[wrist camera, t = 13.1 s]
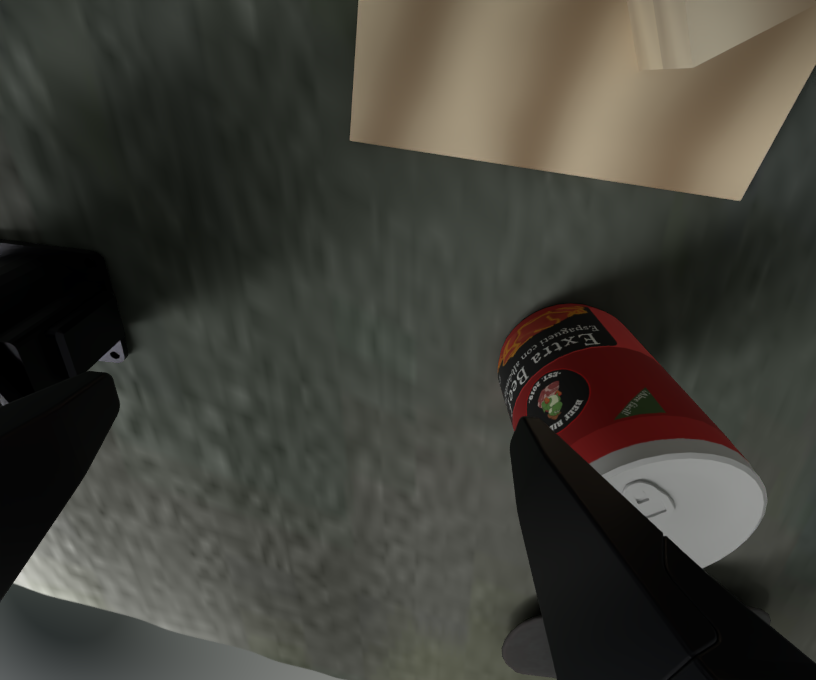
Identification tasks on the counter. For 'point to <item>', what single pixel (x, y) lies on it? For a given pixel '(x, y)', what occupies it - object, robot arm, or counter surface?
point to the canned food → (632, 427)
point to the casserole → (544, 647)
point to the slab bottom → (645, 34)
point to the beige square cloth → (571, 92)
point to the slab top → (715, 26)
